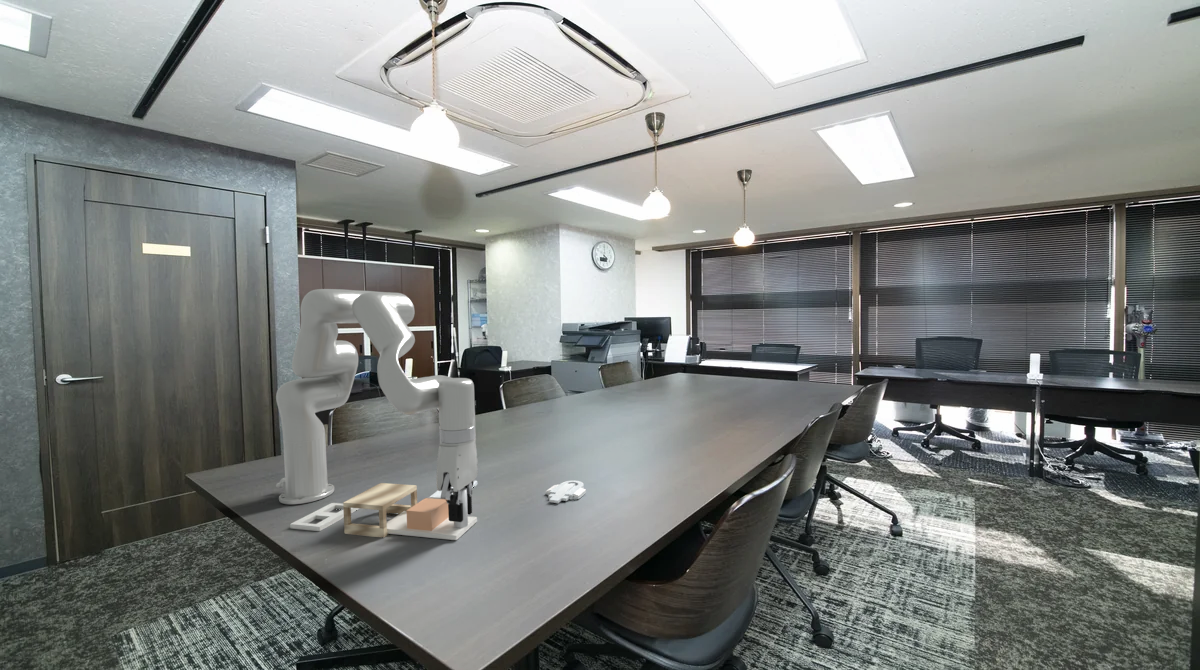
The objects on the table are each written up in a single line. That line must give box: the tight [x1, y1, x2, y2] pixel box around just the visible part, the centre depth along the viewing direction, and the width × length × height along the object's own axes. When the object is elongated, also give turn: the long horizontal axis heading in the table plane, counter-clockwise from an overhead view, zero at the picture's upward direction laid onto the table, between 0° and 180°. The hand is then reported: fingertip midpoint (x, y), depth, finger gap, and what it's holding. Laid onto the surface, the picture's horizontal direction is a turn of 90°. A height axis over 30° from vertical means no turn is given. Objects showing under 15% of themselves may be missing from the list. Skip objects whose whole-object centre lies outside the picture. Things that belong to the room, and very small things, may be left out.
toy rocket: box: [545, 479, 587, 504], centre depth 123 cm, size 16×10×2 cm, turn 157°
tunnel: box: [342, 482, 418, 539], centre depth 106 cm, size 10×12×7 cm
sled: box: [387, 487, 478, 541], centre depth 104 cm, size 19×9×9 cm, turn 77°
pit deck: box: [289, 502, 360, 532], centre depth 110 cm, size 8×12×1 cm, turn 167°
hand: (460, 516), depth 102 cm, fingers closed on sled, 3 cm apart
